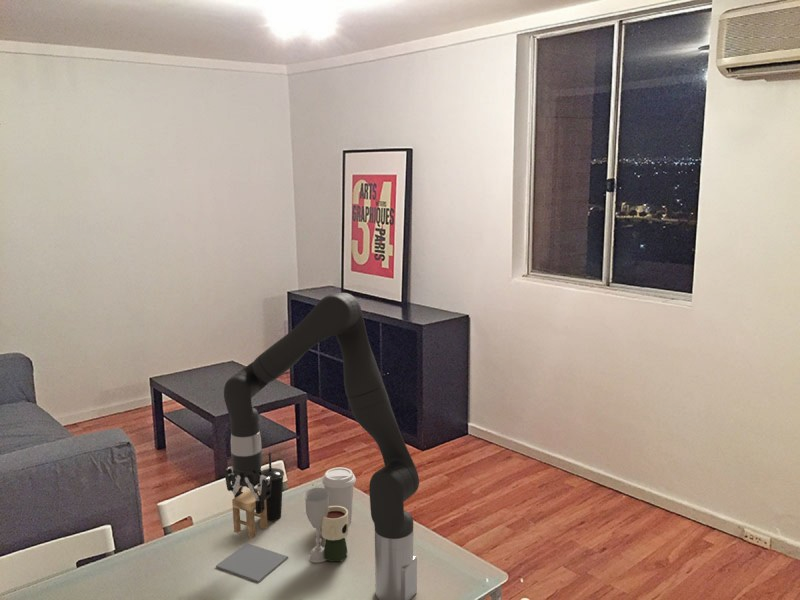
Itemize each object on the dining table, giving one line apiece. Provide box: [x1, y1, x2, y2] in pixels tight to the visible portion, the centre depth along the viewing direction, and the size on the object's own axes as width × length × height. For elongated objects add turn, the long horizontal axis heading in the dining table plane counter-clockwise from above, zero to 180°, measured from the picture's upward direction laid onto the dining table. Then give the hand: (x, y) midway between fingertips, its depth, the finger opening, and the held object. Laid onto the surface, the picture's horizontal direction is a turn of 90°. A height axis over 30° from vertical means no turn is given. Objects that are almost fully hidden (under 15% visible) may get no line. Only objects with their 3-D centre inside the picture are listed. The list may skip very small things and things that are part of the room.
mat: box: [215, 542, 289, 584], centre depth 180 cm, size 14×12×1 cm
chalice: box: [303, 487, 330, 563], centre depth 180 cm, size 7×7×18 cm
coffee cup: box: [321, 467, 357, 525], centre depth 198 cm, size 10×10×15 cm
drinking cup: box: [261, 452, 285, 522], centre depth 200 cm, size 8×8×20 cm
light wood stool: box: [231, 489, 268, 538], centre depth 177 cm, size 6×6×9 cm
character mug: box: [320, 506, 350, 562], centre depth 181 cm, size 11×7×13 cm, turn 178°
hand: (249, 509), depth 177 cm, fingers closed on light wood stool, 6 cm apart
